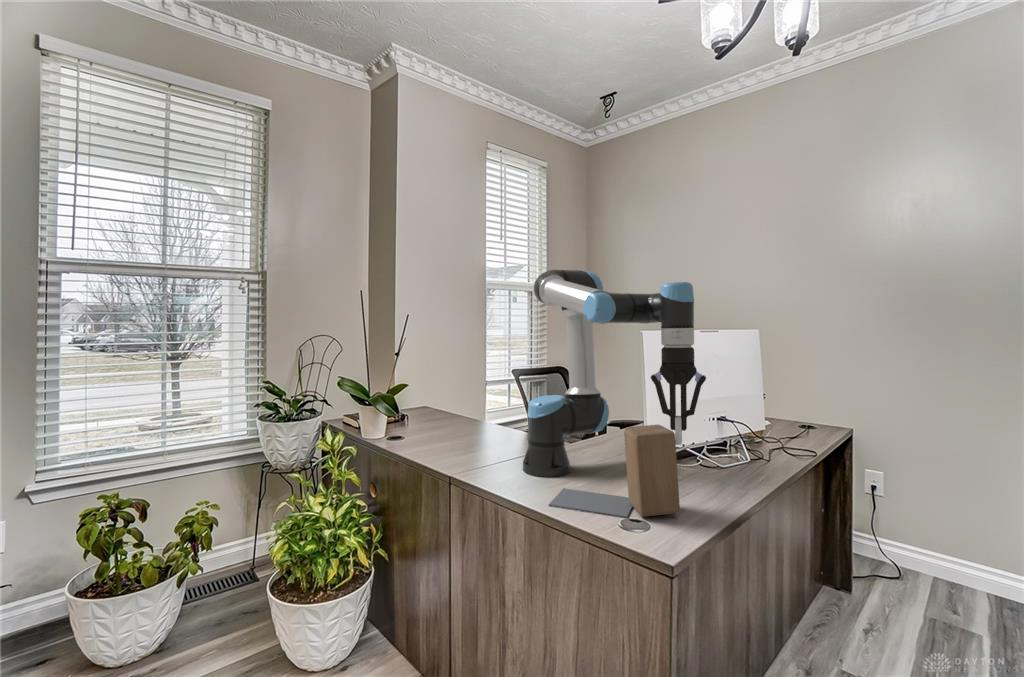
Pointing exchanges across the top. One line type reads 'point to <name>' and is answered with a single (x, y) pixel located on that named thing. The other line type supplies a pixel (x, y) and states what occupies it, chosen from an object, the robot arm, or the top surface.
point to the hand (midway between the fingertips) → (678, 443)
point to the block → (652, 470)
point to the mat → (593, 502)
